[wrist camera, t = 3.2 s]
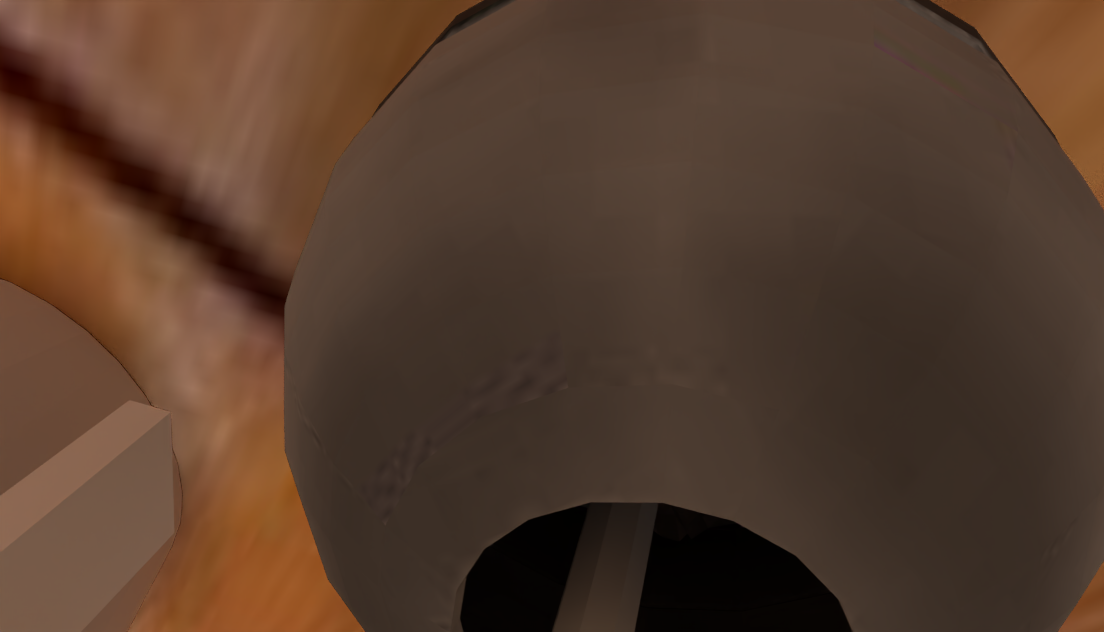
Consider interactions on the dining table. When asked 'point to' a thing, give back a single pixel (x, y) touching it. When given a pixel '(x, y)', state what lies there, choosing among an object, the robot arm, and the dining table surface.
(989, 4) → the dining table surface
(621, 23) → the beverage cup
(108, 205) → the dining table surface
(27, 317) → the bowl
